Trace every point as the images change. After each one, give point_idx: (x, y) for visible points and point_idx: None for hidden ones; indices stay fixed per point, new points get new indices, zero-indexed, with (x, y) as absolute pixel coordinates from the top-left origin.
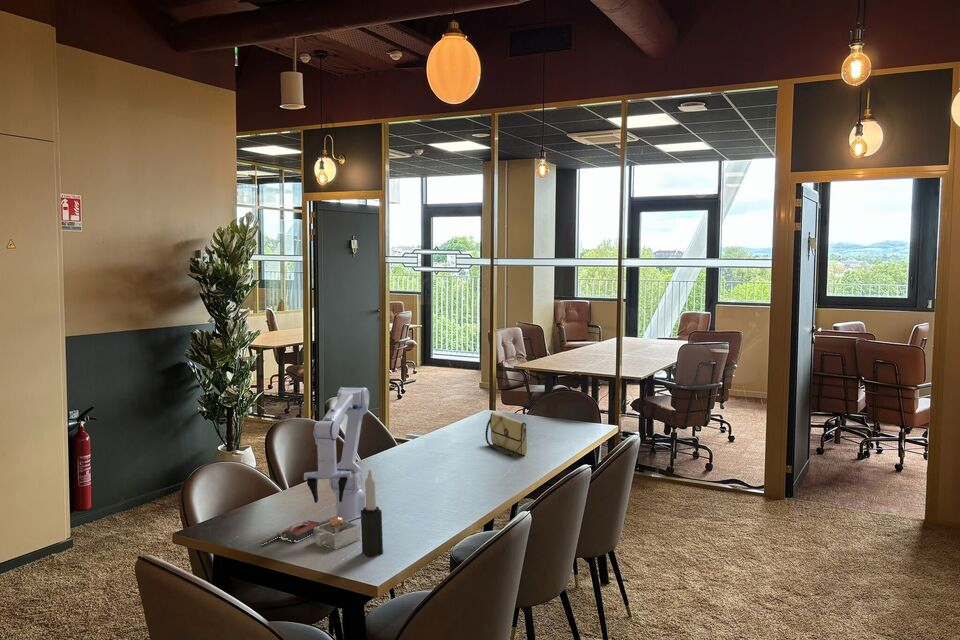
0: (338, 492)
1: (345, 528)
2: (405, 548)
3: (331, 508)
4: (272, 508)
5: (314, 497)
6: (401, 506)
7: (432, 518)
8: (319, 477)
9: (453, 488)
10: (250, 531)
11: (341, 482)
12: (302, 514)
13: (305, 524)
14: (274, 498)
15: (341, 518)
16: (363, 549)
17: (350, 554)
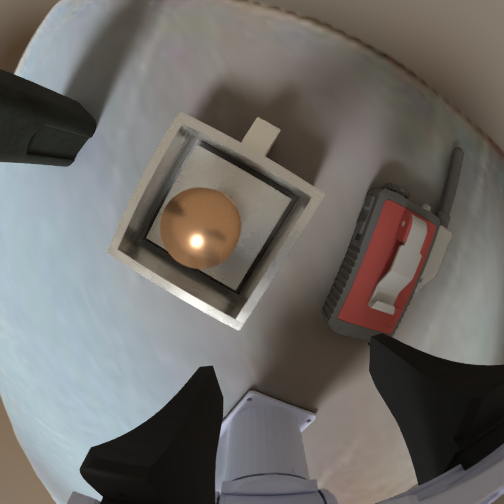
0: (291, 480)
1: (196, 284)
2: (12, 191)
3: (329, 458)
4: None
5: (400, 344)
6: None
7: (46, 395)
8: (432, 494)
9: None
10: (498, 276)
11: (113, 462)
12: None
13: (382, 293)
14: None
15: (163, 223)
16: (81, 111)
17: (128, 103)
